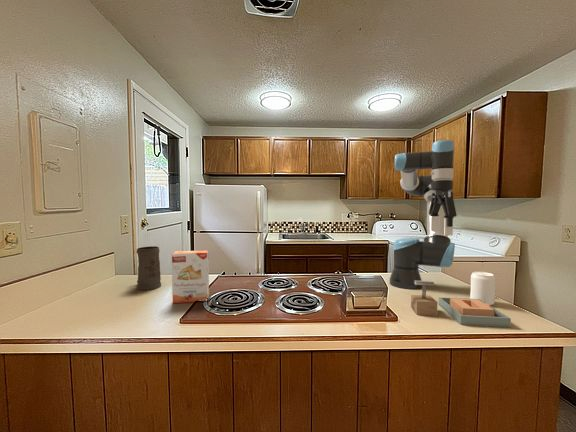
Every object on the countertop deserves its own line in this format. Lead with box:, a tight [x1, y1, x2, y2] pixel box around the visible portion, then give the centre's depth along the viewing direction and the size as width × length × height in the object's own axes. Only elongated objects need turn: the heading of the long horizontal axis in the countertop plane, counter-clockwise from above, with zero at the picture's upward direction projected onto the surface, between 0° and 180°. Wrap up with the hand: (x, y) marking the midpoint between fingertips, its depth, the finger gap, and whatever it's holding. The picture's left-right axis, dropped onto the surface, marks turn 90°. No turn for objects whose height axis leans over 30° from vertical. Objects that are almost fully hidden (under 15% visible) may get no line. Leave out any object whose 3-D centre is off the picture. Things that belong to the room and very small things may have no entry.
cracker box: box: [171, 250, 210, 304], centre depth 114 cm, size 14×6×21 cm, turn 100°
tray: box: [438, 297, 512, 328], centre depth 99 cm, size 18×15×3 cm
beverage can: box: [469, 271, 496, 306], centre depth 111 cm, size 8×8×12 cm
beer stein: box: [136, 245, 162, 291], centre depth 135 cm, size 15×11×20 cm
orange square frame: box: [449, 297, 494, 317], centre depth 99 cm, size 10×11×4 cm
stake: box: [410, 280, 438, 317], centre depth 102 cm, size 7×7×12 cm
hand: (440, 233), depth 109 cm, fingers open, 13 cm apart
